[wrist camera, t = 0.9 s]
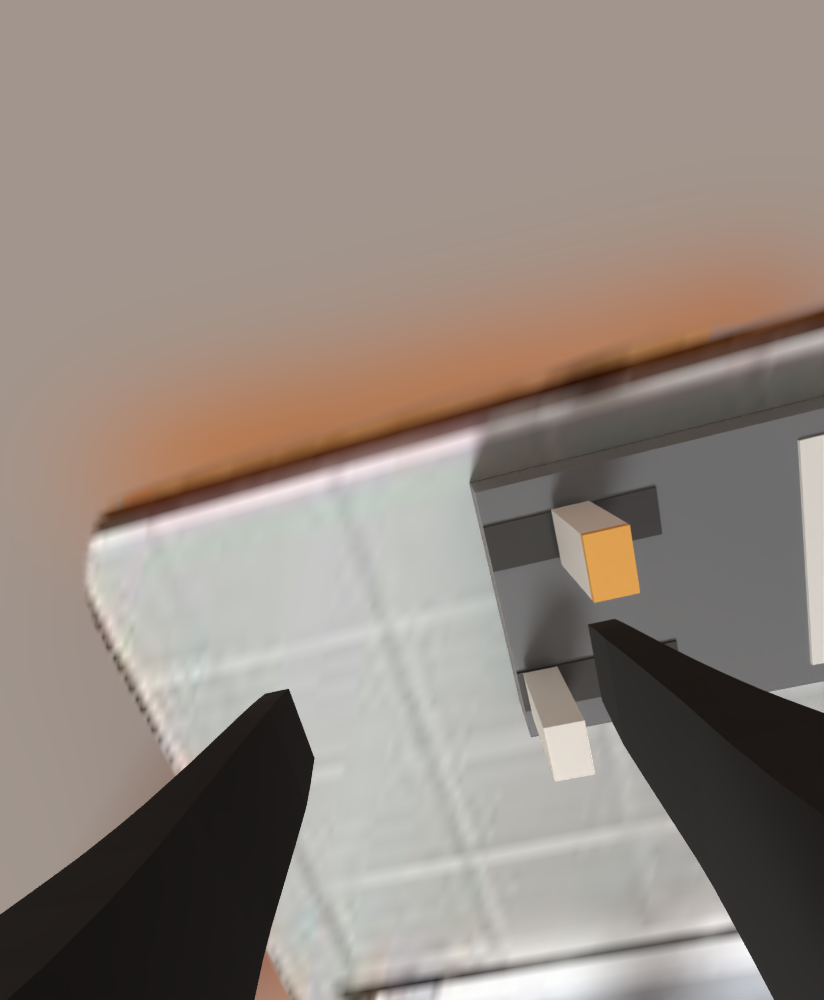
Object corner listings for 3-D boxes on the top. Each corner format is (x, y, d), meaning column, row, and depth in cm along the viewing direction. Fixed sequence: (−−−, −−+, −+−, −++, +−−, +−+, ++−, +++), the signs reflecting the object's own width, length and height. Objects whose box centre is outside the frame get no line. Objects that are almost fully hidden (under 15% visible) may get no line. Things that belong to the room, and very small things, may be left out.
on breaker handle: (557, 666, 18) (584, 720, 15) (566, 712, 19) (595, 774, 16) (523, 673, 18) (543, 728, 15) (533, 719, 19) (554, 781, 16)
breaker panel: (837, 392, 18) (896, 391, 16) (846, 639, 20) (898, 668, 18) (469, 482, 19) (475, 493, 17) (520, 704, 22) (531, 738, 19)
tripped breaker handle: (588, 500, 17) (629, 524, 13) (598, 556, 17) (640, 592, 14) (551, 509, 17) (582, 535, 13) (561, 564, 17) (594, 602, 14)
